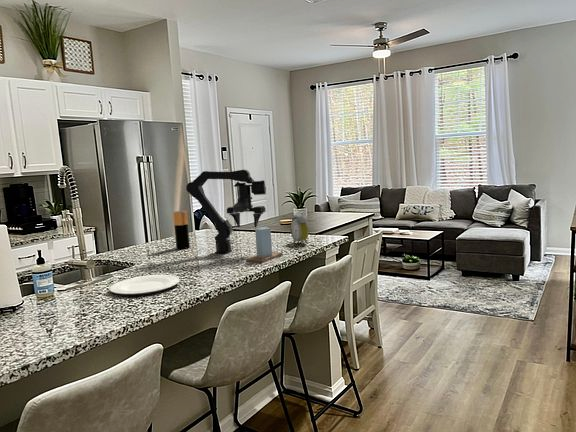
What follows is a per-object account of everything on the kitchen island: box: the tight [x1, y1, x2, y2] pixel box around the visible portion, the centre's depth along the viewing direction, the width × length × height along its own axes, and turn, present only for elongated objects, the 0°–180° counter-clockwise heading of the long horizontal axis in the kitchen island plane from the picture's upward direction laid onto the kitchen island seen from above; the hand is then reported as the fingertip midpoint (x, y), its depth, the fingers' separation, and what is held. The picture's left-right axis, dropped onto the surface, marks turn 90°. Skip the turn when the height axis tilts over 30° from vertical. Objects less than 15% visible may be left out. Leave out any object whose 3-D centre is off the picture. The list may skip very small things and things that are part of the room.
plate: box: [108, 274, 181, 296], centre depth 168 cm, size 25×25×2 cm
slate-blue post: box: [254, 226, 273, 257], centre depth 205 cm, size 5×5×12 cm
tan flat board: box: [245, 251, 283, 264], centre depth 206 cm, size 16×9×1 cm, turn 147°
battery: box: [172, 210, 191, 250], centre depth 241 cm, size 7×7×20 cm
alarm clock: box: [289, 213, 310, 246], centre depth 237 cm, size 12×7×15 cm, turn 25°
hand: (247, 227), depth 222 cm, fingers open, 9 cm apart
